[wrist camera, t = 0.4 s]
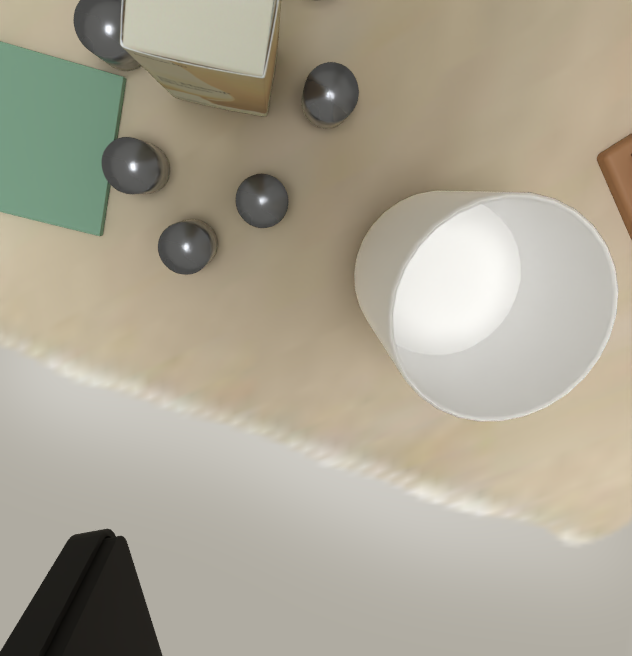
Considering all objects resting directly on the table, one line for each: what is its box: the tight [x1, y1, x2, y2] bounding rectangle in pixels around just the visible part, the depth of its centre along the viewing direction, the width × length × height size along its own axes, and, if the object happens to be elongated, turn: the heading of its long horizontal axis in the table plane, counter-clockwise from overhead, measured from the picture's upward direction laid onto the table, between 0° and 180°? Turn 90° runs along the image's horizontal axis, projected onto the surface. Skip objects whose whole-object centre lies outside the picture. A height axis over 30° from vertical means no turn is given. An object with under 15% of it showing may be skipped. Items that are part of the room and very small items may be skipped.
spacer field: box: [74, 0, 359, 274], centre depth 30 cm, size 25×16×4 cm, turn 165°
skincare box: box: [120, 0, 281, 116], centre depth 26 cm, size 6×4×12 cm
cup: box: [354, 191, 618, 421], centre depth 30 cm, size 12×12×12 cm
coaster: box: [0, 42, 126, 236], centre depth 32 cm, size 10×10×1 cm
